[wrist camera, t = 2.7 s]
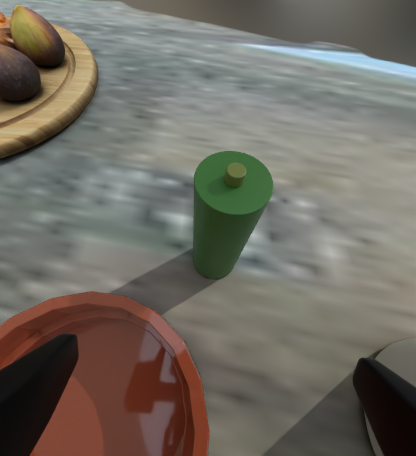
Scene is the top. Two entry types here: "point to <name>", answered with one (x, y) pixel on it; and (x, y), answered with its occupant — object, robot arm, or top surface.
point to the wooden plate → (40, 79)
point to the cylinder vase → (396, 371)
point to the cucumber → (227, 209)
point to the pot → (115, 379)
